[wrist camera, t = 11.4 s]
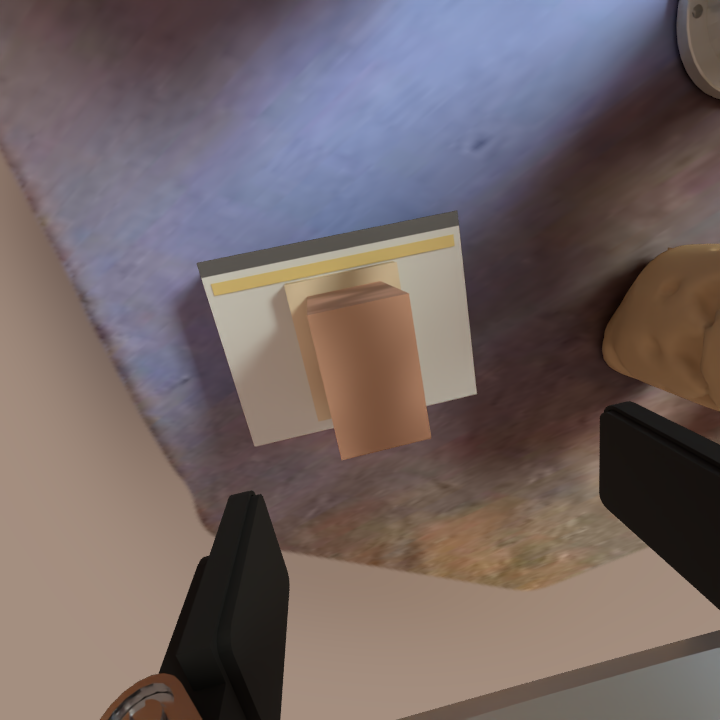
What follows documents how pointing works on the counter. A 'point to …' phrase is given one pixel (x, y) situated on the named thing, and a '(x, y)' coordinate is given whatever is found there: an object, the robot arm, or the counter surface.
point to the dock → (323, 257)
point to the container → (672, 325)
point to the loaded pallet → (361, 357)
